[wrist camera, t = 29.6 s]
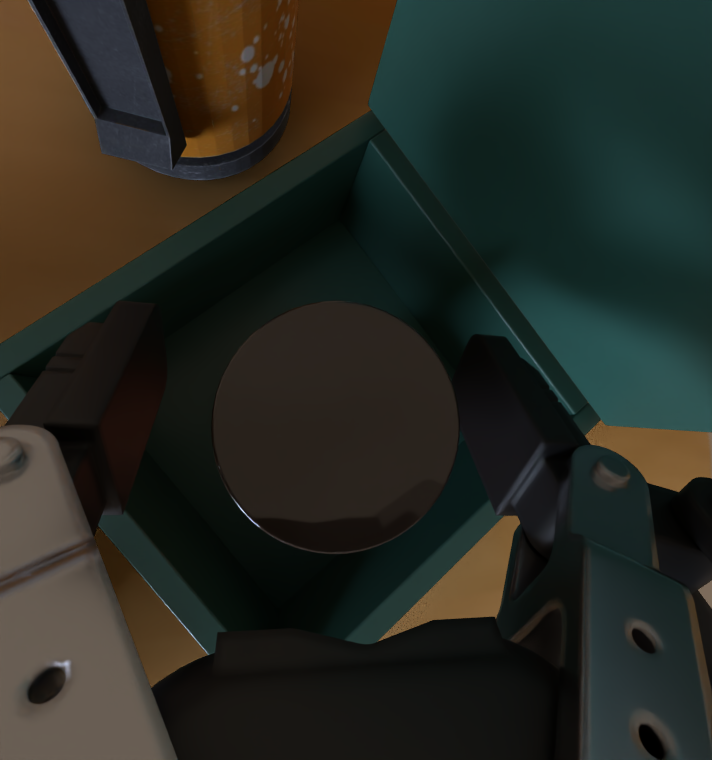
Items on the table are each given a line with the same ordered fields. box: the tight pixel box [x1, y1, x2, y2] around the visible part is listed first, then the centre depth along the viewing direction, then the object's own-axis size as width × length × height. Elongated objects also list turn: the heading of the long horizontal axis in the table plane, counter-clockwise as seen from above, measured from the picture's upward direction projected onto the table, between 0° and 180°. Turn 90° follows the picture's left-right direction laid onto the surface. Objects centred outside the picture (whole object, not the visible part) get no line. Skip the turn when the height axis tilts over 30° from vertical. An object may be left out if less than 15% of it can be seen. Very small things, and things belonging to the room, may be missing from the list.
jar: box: [211, 301, 460, 554], centre depth 13 cm, size 4×4×12 cm
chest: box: [0, 110, 601, 655], centre depth 17 cm, size 15×14×7 cm
